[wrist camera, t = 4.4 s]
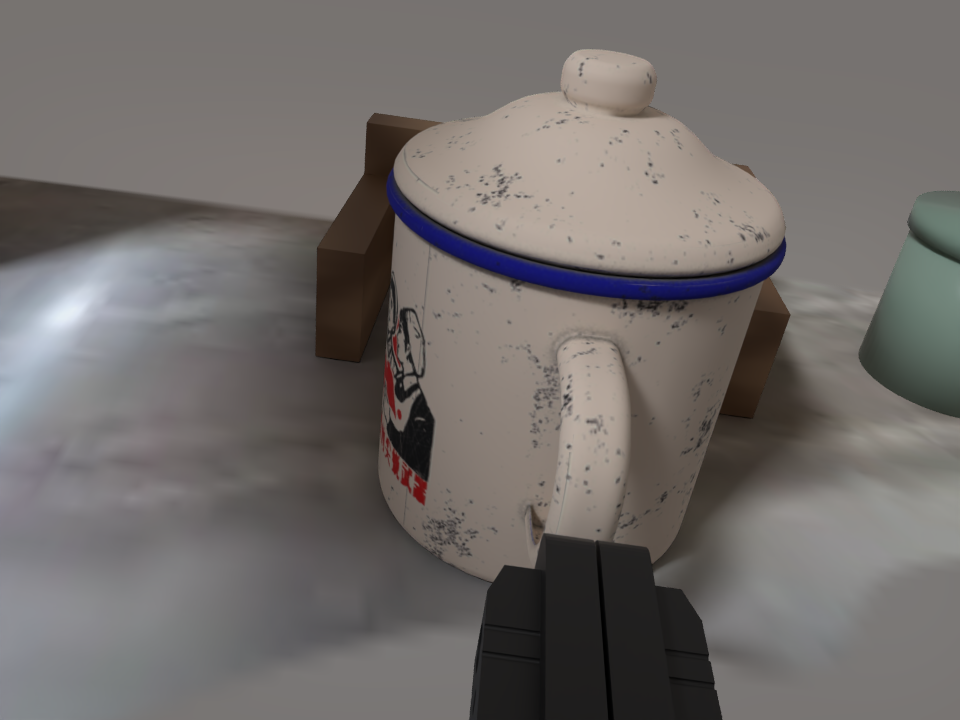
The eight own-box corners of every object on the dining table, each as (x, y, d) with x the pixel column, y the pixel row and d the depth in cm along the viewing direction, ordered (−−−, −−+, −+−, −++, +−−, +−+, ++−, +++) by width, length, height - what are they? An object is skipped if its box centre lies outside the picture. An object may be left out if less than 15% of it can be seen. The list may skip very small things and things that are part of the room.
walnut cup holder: (315, 355, 27) (318, 186, 24) (366, 251, 35) (374, 112, 32) (752, 417, 27) (811, 256, 24) (707, 299, 35) (747, 166, 32)
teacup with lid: (389, 378, 26) (418, -1, 20) (659, 410, 27) (764, 46, 21) (317, 696, 16) (329, 122, 10) (754, 740, 17) (1017, 210, 11)
